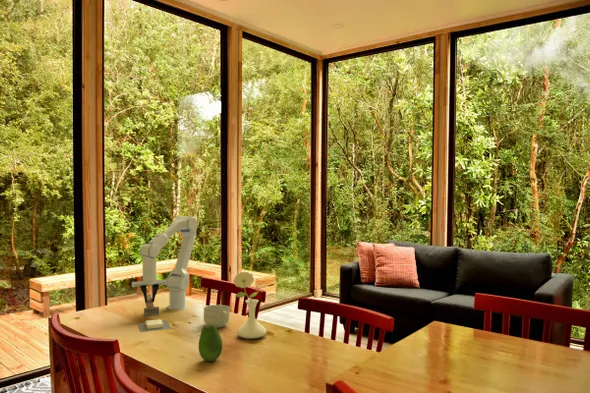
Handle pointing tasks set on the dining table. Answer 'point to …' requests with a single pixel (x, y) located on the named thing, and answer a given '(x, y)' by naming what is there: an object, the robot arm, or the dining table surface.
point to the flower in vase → (251, 326)
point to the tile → (154, 324)
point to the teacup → (216, 315)
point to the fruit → (210, 343)
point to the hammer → (150, 308)
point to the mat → (144, 328)
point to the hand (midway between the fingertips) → (149, 302)
